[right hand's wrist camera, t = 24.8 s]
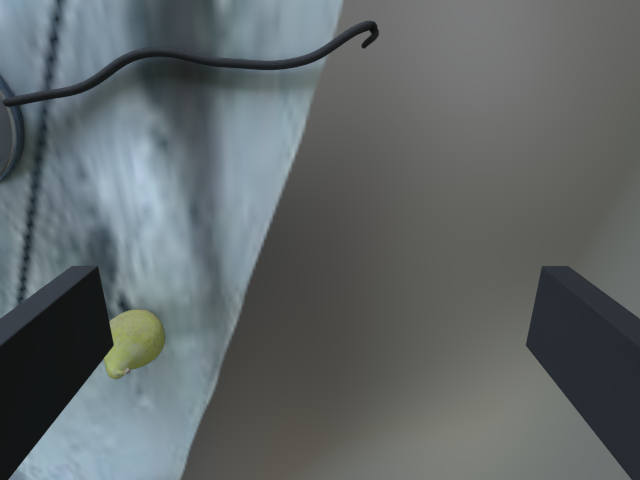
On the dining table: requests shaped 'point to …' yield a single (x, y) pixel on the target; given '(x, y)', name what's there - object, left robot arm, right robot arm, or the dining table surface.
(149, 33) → the dining table surface
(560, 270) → the right robot arm
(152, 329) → the fruit
